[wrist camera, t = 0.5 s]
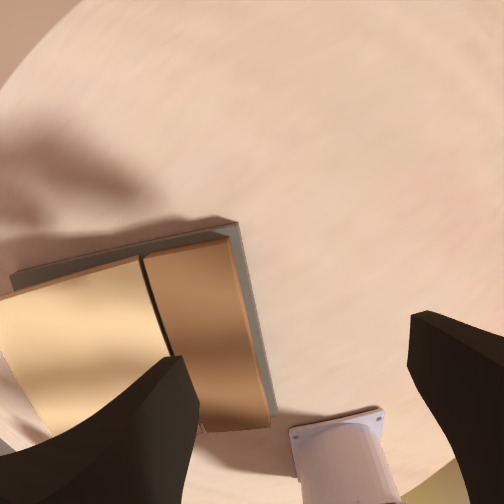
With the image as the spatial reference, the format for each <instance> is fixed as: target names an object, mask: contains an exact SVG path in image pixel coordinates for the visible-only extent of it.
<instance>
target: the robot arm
mask: <svg viewBox="0 0 504 504" xmlns="http://www.w3.org/2000/svg"><path fill="white" fill-rule="evenodd" d="M407 368H408V370H409V372H410V374H411V377H412V379H413V381H414V383H415V386H416V388H417V390H418V392H419V393H420V395H421V396H422V398H423V400H424V401H425V403H426V405H427V406H428V408H429V409H430V411H431V413H432V414H433V416H434V417H435V419H436V421H437V422H438V424H439V426H440V427H441V429H442V430H443V432H444V434H445V435H446V437H447V439H448V441H449V443H450V445H451V447H452V449H453V452H454V454H455V457H456V459H457V462H458V464H459V467H460V470H461V473H462V476H463V479H464V482H465V485H466V488H467V491H468V496H469V500H470V504H504V337H503V336H499V335H496V334H493V333H490V332H487V331H484V330H481V329H479V328H476V327H473V326H470V325H468V324H465V323H462V322H460V321H457V320H455V319H452V318H449V317H447V316H444V315H441V314H438V313H435V312H432V311H428V310H426V311H423V312H419V313H416V314H412V315H411V322H410V338H409V350H408V360H407ZM199 408H200V401H199V399H198V396H197V394H196V391H195V389H194V386H193V384H192V381H191V378H190V376H189V373H188V370H187V367H186V365H185V362H184V359H183V356H182V355H180V356H167V357H163V358H162V359H161V360H159V361H158V362H157V363H156V364H154V365H153V366H152V367H151V368H150V369H149V370H147V371H146V372H145V373H144V374H143V375H142V376H141V377H139V378H138V379H137V380H136V381H135V382H134V383H132V384H131V385H130V386H129V387H128V388H127V389H125V390H124V391H123V392H122V393H121V394H119V395H118V396H117V397H116V398H114V399H113V400H112V401H110V402H109V403H108V404H107V405H105V406H104V407H103V408H101V409H100V410H99V411H97V412H96V413H95V414H93V415H92V416H90V417H89V418H87V419H86V420H84V421H82V422H81V423H79V424H78V425H76V426H74V427H73V428H71V429H69V430H67V431H65V432H63V433H61V434H59V435H57V436H55V437H53V438H51V439H49V440H47V441H45V442H43V443H40V444H38V445H35V446H32V447H30V448H27V449H24V450H21V451H18V452H14V453H11V454H7V455H3V456H0V504H181V499H182V492H183V487H184V482H185V478H186V474H187V470H188V466H189V462H190V458H191V454H192V450H193V446H194V442H195V437H196V433H197V429H198V420H199ZM384 416H385V412H384V409H382V408H379V409H375V410H372V411H368V412H364V413H360V414H356V415H352V416H348V417H344V418H339V419H335V420H330V421H325V422H320V423H315V424H310V425H304V426H298V427H293V428H291V429H290V430H289V437H290V442H291V447H292V452H293V457H294V462H295V467H296V472H297V478H298V482H300V483H301V489H302V498H303V504H407V501H403V502H402V501H401V498H400V495H399V492H398V490H397V487H396V484H395V481H394V478H393V475H392V473H391V470H390V467H389V464H388V462H387V459H386V456H385V454H384V451H383V448H382V446H381V437H382V430H383V423H384Z"/></svg>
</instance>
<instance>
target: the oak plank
mask: <svg viewBox="0 0 504 504" xmlns="http://www.w3.org/2000/svg"><path fill="white" fill-rule="evenodd" d="M0 350H1V352H2V354H3V356H4V358H5V360H6V362H7V364H8V366H9V367H10V369H11V371H12V373H13V375H14V376H15V378H16V380H17V382H18V383H19V385H20V387H21V388H22V390H23V392H24V393H25V395H26V397H27V398H28V400H29V401H30V403H31V404H32V406H33V408H34V409H35V411H36V412H37V414H38V415H39V416H40V418H41V419H42V421H43V422H44V424H45V425H46V426H47V428H48V429H49V430H50V432H51V433H52V435H53V436H54V437H55V436H57V435H59V434H61V433H63V432H65V431H67V430H69V429H71V428H73V427H74V426H76V425H78V424H79V423H81V422H82V421H84V420H86V419H87V418H89V417H90V416H92V415H93V414H95V413H96V412H97V411H99V410H100V409H101V408H103V407H104V406H105V405H107V404H108V403H109V402H110V401H112V400H113V399H114V398H116V397H117V396H118V395H119V394H121V393H122V392H123V391H124V390H125V389H127V388H128V387H129V386H130V385H131V384H132V383H134V382H135V381H136V380H137V379H138V378H139V377H141V376H142V375H143V374H144V373H145V372H146V371H147V370H149V369H150V368H151V367H152V366H153V365H154V364H156V363H157V362H158V361H159V360H161V359H162V358H163V357H167V356H172V354H171V351H170V349H169V346H168V343H167V341H166V338H165V335H164V332H163V329H162V327H161V324H160V321H159V318H158V315H157V312H156V309H155V306H154V303H153V300H152V297H151V294H150V290H149V287H148V284H147V281H146V277H145V274H144V271H143V267H142V264H141V260H140V257H139V255H136V256H133V257H129V258H125V259H122V260H118V261H115V262H111V263H108V264H104V265H101V266H97V267H94V268H90V269H87V270H84V271H80V272H77V273H73V274H70V275H67V276H63V277H60V278H57V279H53V280H50V281H47V282H43V283H40V284H37V285H34V286H30V287H27V288H24V289H21V290H18V291H14V292H11V293H8V294H5V295H2V296H0ZM201 433H203V432H202V428H201V425H200V422H199V420H198V429H197V433H196V435H198V434H201Z"/></svg>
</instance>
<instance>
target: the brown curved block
mask: <svg viewBox="0 0 504 504" xmlns="http://www.w3.org/2000/svg"><path fill="white" fill-rule="evenodd" d="M143 261H144V264H145V268H146V271H147V274H148V278H149V281H150V284H151V288H152V291H153V294H154V297H155V300H156V304H157V307H158V310H159V313H160V316H161V319H162V322H163V324H164V327H165V330H166V333H167V336H168V339H169V341H170V344H171V347H172V350H173V352H174V355H175V356H180V355H182V356H183V359H184V362H185V365H186V367H187V370H188V373H189V376H190V378H191V381H192V384H193V386H194V389H195V391H196V394H197V396H198V399H199V401H200V408H199V416H200V418H201V420H202V423H203V425H204V427H205V429H206V431H207V432H225V431H238V430H249V429H259V428H267V427H270V411H269V407H268V402H267V398H266V394H265V390H264V386H263V382H262V377H261V373H260V369H259V365H258V360H257V356H256V352H255V348H254V343H253V339H252V335H251V330H250V326H249V321H248V317H247V313H246V308H245V304H244V299H243V295H242V290H241V286H240V281H239V277H238V272H237V268H236V263H235V258H234V254H233V249H232V245H231V240H230V236H229V237H224V238H219V239H213V240H208V241H203V242H198V243H193V244H188V245H183V246H177V247H172V248H167V249H162V250H157V251H152V252H151V253H150V254H149V255H148V256H146V257H145V258H144V259H143Z"/></svg>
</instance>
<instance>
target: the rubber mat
mask: <svg viewBox="0 0 504 504" xmlns="http://www.w3.org/2000/svg"><path fill="white" fill-rule="evenodd" d="M229 236H230V240H231V245H232V249H233V254H234V258H235V263H236V268H237V272H238V277H239V281H240V286H241V290H242V295H243V299H244V304H245V308H246V313H247V317H248V321H249V326H250V330H251V335H252V339H253V343H254V348H255V352H256V356H257V360H258V365H259V369H260V373H261V377H262V382H263V386H264V390H265V394H266V398H267V402H268V407H269V411H270V417H274V416H278V411H277V404H276V399H275V394H274V390H273V385H272V380H271V376H270V371H269V366H268V362H267V357H266V352H265V348H264V343H263V338H262V334H261V329H260V324H259V319H258V315H257V310H256V305H255V300H254V296H253V291H252V286H251V281H250V277H249V272H248V267H247V262H246V257H245V252H244V248H243V243H242V238H241V233H240V228H239V223H238V222H237V223H232V224H227V225H222V226H217V227H212V228H207V229H202V230H197V231H192V232H187V233H182V234H177V235H172V236H167V237H163V238H158V239H153V240H149V241H144V242H139V243H135V244H130V245H126V246H121V247H117V248H112V249H108V250H104V251H99V252H95V253H91V254H86V255H82V256H78V257H74V258H70V259H65V260H61V261H57V262H53V263H49V264H45V265H41V266H37V267H33V268H29V269H25V270H21V271H18V272H15V273H14V274H12V275H10V279H11V282H12V285H13V288H14V291H18V290H21V289H24V288H27V287H30V286H34V285H37V284H40V283H43V282H47V281H50V280H53V279H57V278H60V277H63V276H67V275H70V274H73V273H77V272H80V271H84V270H87V269H90V268H94V267H97V266H101V265H104V264H108V263H111V262H115V261H118V260H122V259H125V258H129V257H133V256H136V255H139V257H140V260H141V264H142V267H143V271H144V274H145V277H146V281H147V284H148V287H149V290H150V294H151V297H152V300H153V303H154V306H155V309H156V312H157V315H158V318H159V321H160V324H161V327H162V329H163V332H164V335H165V338H166V341H167V343H168V346H169V349H170V351H171V354H172V356H175V355H174V352H173V350H172V347H171V344H170V341H169V339H168V336H167V333H166V330H165V327H164V324H163V322H162V319H161V316H160V313H159V310H158V307H157V304H156V300H155V297H154V294H153V291H152V288H151V284H150V281H149V278H148V274H147V271H146V268H145V264H144V261H143V259H144V258H145V257H146V256H148V255H149V254H150V253H151V252H152V251H157V250H162V249H167V248H172V247H177V246H183V245H188V244H193V243H198V242H203V241H208V240H213V239H219V238H224V237H229ZM199 422H200V423H202V420H201V418H200V416H199Z"/></svg>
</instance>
